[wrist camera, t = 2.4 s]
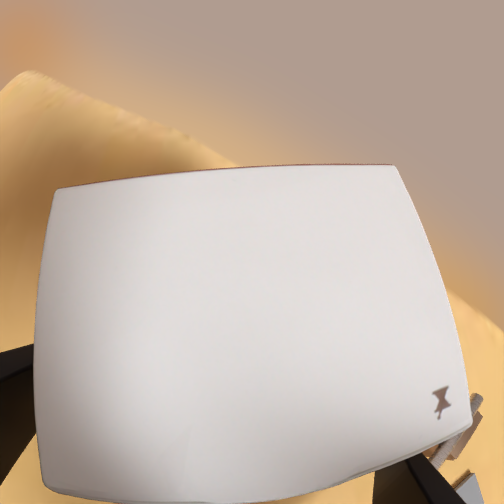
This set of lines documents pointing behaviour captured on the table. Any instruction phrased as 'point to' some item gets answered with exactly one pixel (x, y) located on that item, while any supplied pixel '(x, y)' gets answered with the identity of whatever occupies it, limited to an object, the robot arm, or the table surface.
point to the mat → (470, 490)
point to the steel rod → (448, 445)
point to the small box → (239, 335)
